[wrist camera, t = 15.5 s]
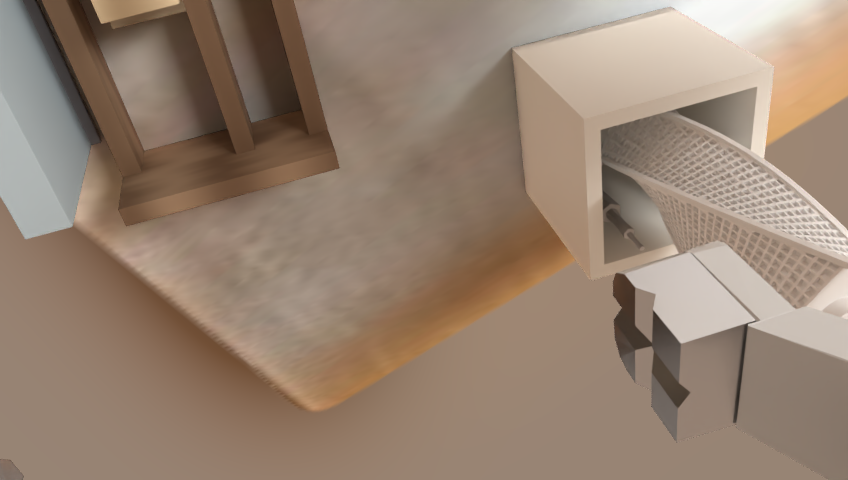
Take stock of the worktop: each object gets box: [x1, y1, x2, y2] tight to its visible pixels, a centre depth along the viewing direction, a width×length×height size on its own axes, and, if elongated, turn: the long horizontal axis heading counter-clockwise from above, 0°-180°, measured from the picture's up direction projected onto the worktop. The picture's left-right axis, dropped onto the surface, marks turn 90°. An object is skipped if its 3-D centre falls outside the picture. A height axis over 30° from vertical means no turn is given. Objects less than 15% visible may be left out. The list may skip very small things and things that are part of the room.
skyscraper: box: [600, 109, 848, 319], centre depth 46 cm, size 8×8×28 cm
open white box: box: [512, 7, 774, 280], centre depth 53 cm, size 12×12×12 cm
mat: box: [23, 0, 101, 145], centre depth 45 cm, size 4×14×1 cm, turn 10°
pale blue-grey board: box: [0, 0, 91, 239], centre depth 41 cm, size 2×14×10 cm, turn 10°
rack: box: [42, 0, 339, 226], centre depth 44 cm, size 13×19×7 cm
